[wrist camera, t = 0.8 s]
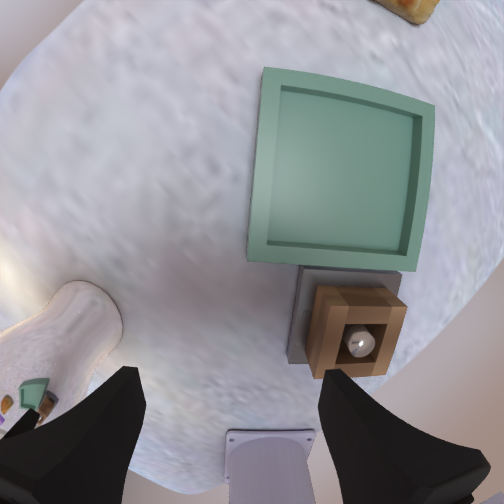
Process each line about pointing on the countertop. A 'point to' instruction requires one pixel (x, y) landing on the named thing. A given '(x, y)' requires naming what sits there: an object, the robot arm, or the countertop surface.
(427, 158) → the tray
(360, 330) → the grey peg base
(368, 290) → the collar
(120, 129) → the countertop surface
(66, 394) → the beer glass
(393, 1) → the pastry
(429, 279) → the countertop surface
